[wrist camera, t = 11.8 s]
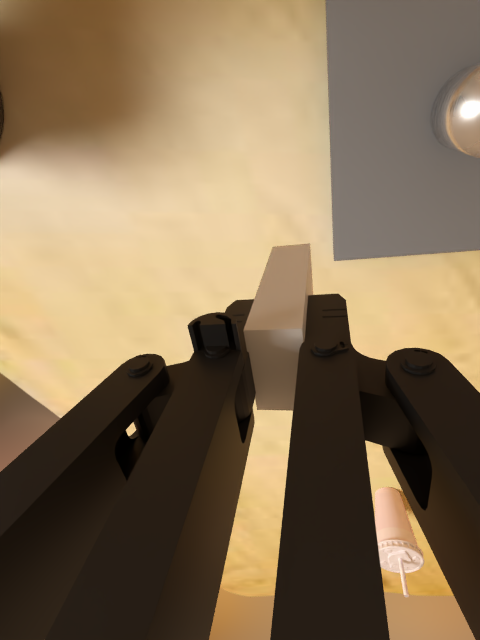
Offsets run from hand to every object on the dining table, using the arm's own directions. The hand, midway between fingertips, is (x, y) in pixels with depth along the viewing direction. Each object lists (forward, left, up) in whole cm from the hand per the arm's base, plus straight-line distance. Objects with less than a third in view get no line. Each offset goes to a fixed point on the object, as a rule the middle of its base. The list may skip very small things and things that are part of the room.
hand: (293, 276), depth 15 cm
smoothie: (+9, -48, -25) cm, 55 cm away
